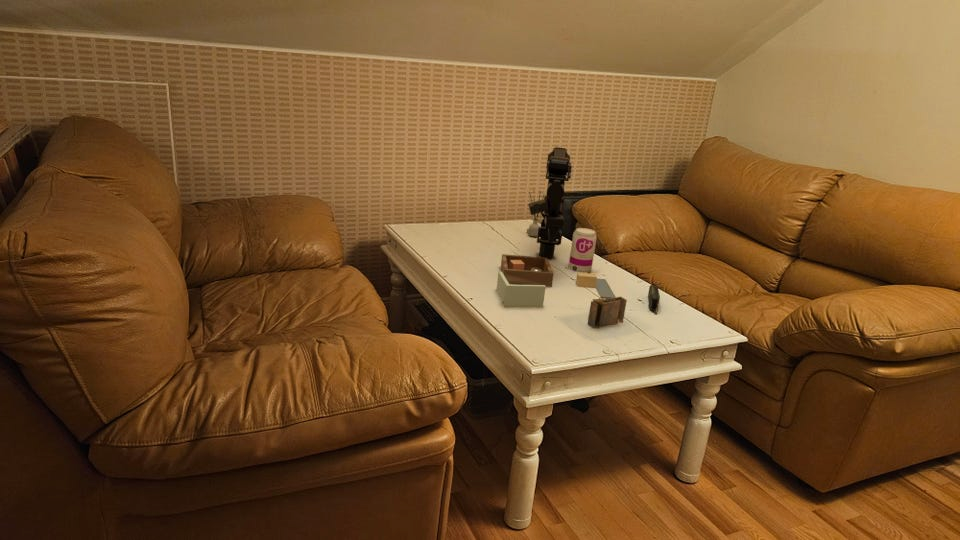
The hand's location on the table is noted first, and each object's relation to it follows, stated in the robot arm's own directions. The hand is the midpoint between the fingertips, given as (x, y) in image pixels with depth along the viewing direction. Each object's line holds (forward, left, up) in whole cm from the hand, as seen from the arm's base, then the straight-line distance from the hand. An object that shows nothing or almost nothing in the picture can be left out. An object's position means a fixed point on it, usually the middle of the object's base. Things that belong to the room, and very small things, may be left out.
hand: (548, 238), depth 210 cm
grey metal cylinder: (+13, -5, -11) cm, 18 cm away
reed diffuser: (-42, -1, -12) cm, 44 cm away
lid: (+14, +12, -13) cm, 22 cm away
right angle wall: (+29, -12, -13) cm, 33 cm away
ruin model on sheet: (+42, +13, -13) cm, 46 cm away
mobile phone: (+25, +32, -12) cm, 42 cm away
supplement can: (-3, +13, -12) cm, 18 cm away
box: (+10, -8, -12) cm, 18 cm away
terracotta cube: (+7, -11, -11) cm, 17 cm away
